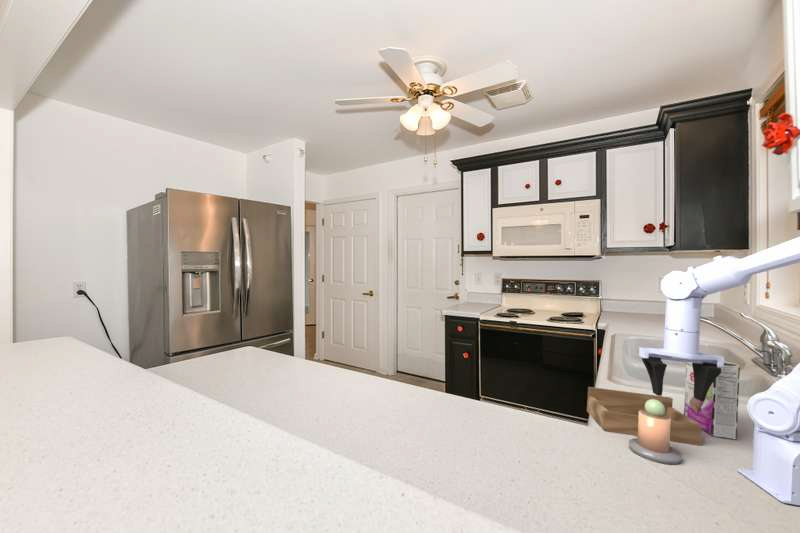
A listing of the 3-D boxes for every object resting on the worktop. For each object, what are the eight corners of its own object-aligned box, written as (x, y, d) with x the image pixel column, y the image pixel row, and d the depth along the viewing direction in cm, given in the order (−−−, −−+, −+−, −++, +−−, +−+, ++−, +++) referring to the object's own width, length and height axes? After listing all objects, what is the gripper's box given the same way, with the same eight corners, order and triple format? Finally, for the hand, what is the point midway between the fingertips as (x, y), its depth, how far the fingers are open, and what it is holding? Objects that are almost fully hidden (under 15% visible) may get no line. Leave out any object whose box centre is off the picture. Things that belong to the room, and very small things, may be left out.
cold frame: (700, 445, 72) (702, 416, 73) (604, 430, 76) (605, 402, 76) (669, 422, 84) (670, 397, 84) (586, 411, 88) (588, 386, 88)
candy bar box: (681, 417, 88) (685, 352, 89) (704, 421, 87) (708, 354, 88) (711, 437, 77) (715, 361, 78) (738, 441, 76) (742, 364, 77)
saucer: (691, 468, 62) (691, 462, 62) (640, 459, 64) (640, 454, 64) (666, 447, 70) (667, 442, 70) (622, 440, 72) (622, 435, 72)
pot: (674, 455, 64) (676, 406, 65) (642, 449, 66) (644, 401, 66) (662, 443, 69) (664, 397, 69) (633, 438, 71) (635, 393, 71)
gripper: (708, 331, 76) (705, 395, 75) (633, 324, 78) (630, 386, 78) (733, 336, 69) (729, 407, 68) (650, 328, 71) (646, 396, 71)
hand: (677, 396), depth 73 cm, fingers open, 7 cm apart
